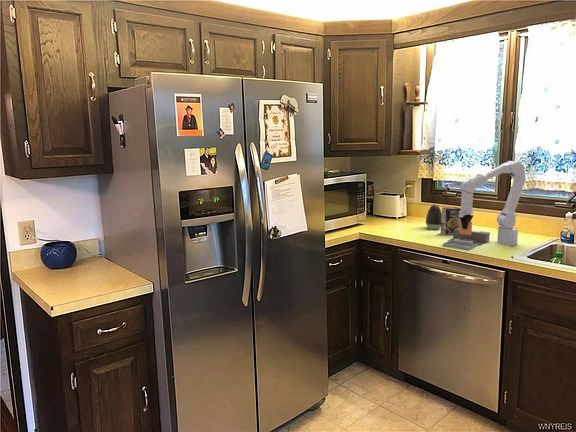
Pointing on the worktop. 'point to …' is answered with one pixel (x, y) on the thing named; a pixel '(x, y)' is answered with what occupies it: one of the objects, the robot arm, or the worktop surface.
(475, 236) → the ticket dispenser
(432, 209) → the dark grey egg shape
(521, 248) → the worktop surface
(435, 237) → the worktop surface
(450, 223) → the coffee box
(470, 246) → the collection tray
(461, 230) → the end ticket
